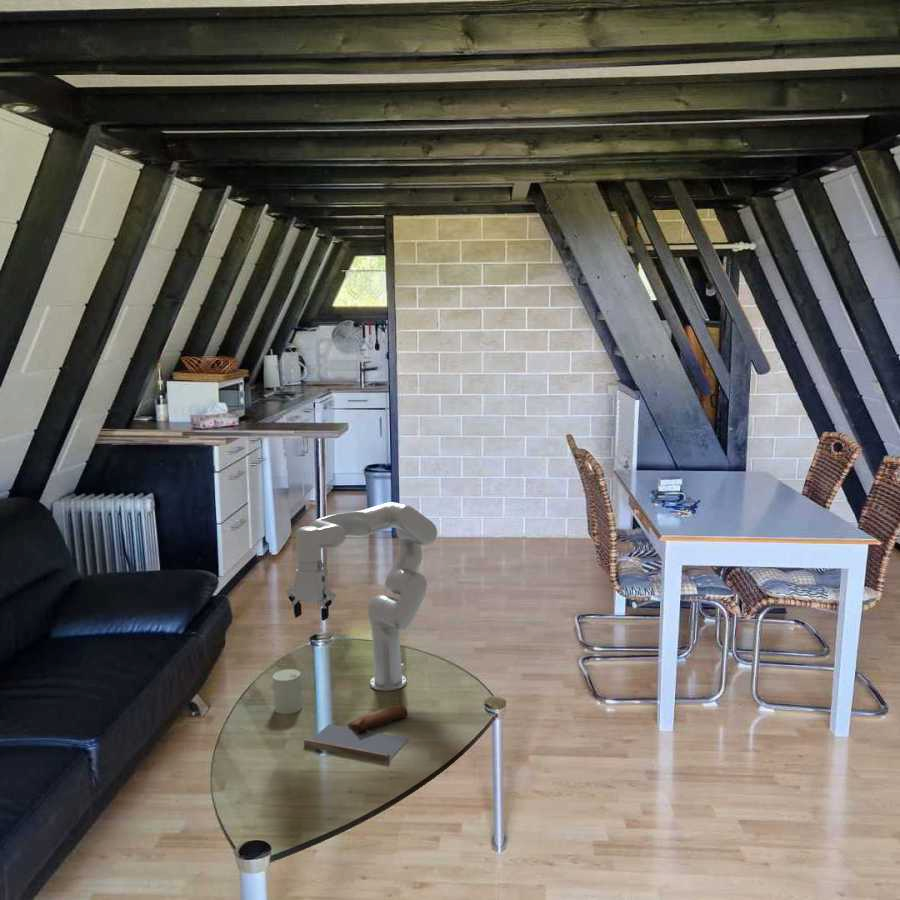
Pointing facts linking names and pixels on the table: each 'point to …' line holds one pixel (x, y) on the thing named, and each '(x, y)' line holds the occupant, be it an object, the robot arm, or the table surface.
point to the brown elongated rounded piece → (377, 718)
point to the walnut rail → (347, 750)
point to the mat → (362, 739)
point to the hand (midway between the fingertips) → (311, 617)
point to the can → (287, 691)
